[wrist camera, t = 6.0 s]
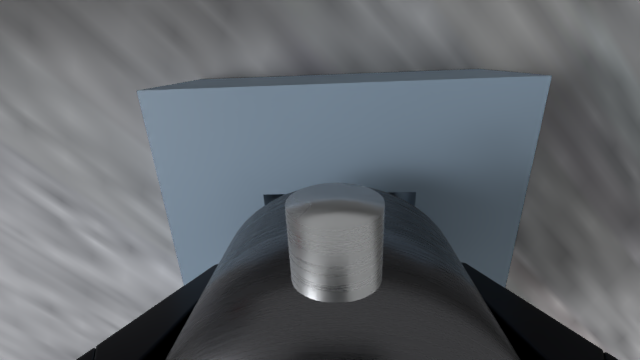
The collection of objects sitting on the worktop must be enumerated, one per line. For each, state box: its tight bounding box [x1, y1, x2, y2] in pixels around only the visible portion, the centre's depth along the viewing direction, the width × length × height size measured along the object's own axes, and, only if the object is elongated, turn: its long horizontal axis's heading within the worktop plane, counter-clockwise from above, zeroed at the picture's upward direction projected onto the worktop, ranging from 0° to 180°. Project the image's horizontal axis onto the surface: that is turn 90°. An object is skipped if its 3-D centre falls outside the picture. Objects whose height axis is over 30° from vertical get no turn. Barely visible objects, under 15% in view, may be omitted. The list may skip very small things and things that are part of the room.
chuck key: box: [165, 183, 521, 360], centre depth 8 cm, size 8×6×8 cm
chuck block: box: [137, 69, 552, 288], centre depth 11 cm, size 10×10×4 cm
